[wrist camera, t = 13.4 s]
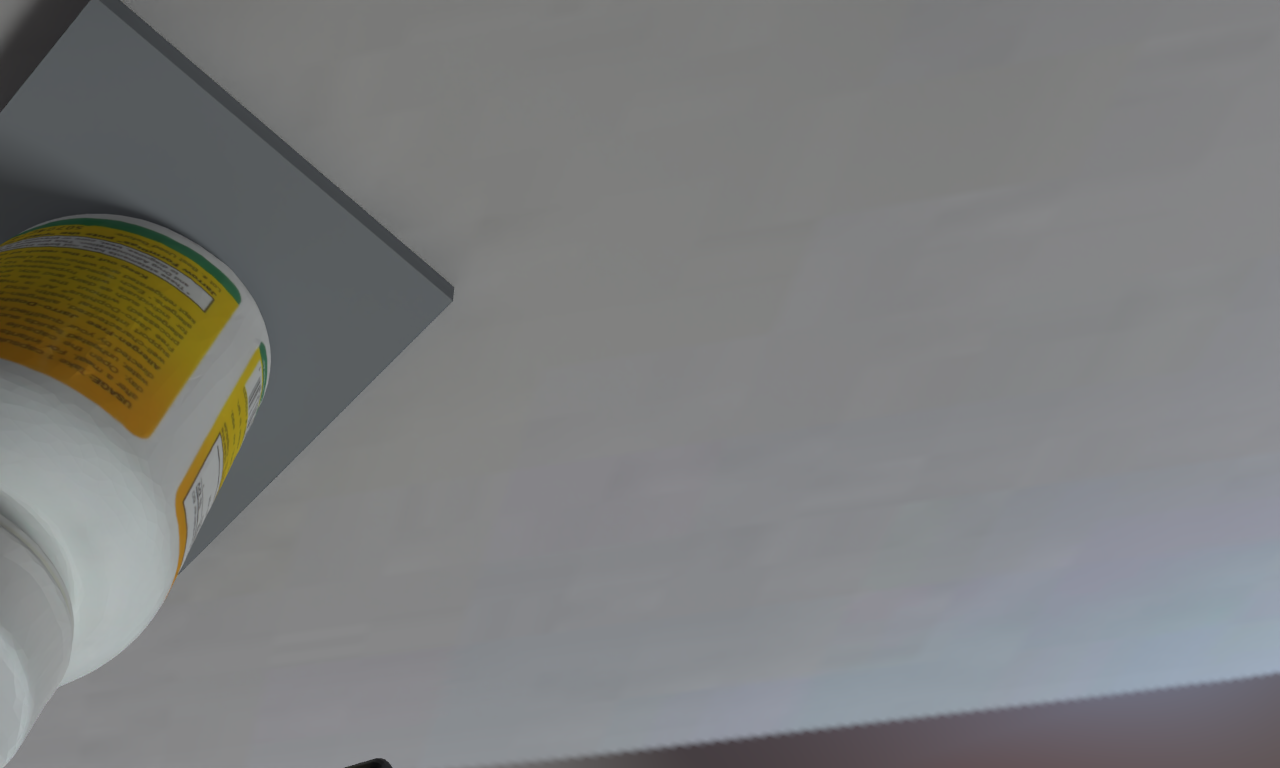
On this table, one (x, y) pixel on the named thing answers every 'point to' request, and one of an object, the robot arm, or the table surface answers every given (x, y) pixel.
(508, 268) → the table surface
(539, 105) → the table surface
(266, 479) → the mat
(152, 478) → the supplement bottle
